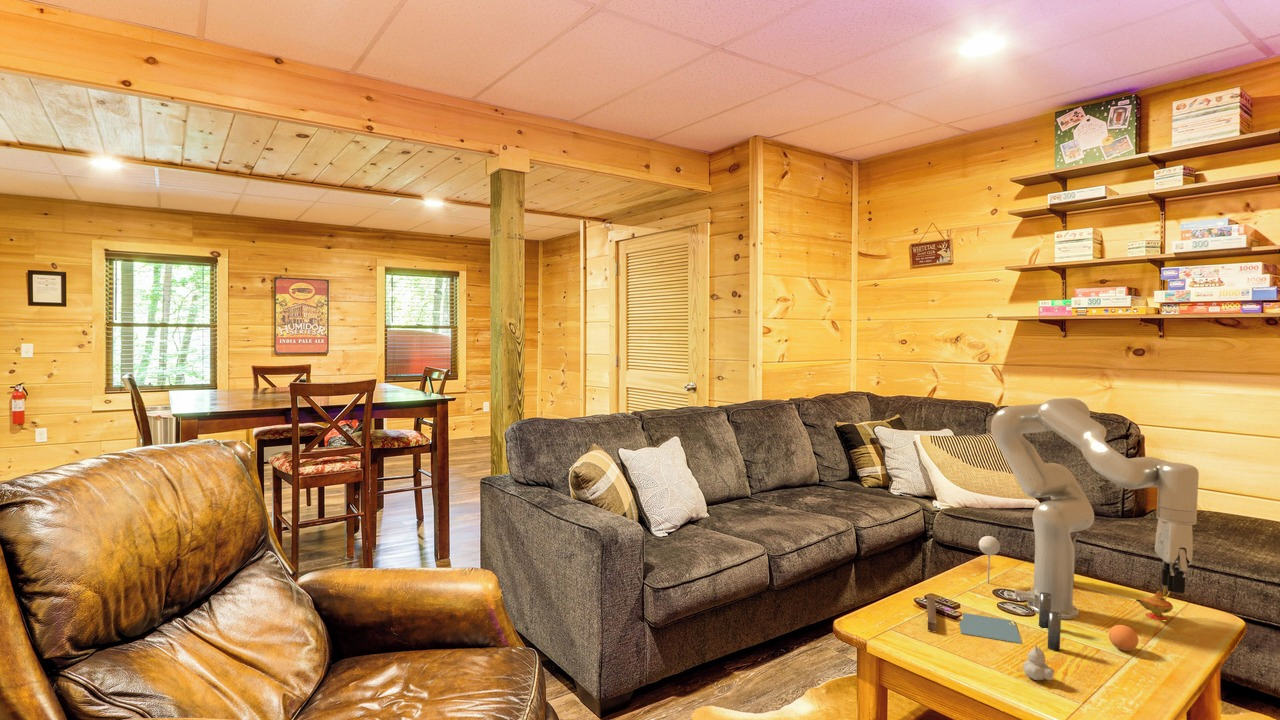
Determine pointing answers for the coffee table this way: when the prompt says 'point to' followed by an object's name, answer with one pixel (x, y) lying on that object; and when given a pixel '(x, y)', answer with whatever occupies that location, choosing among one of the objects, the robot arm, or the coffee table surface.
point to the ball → (1123, 637)
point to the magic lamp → (1157, 605)
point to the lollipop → (989, 548)
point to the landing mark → (989, 628)
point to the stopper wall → (931, 613)
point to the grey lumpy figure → (1037, 666)
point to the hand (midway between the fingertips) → (1172, 588)
